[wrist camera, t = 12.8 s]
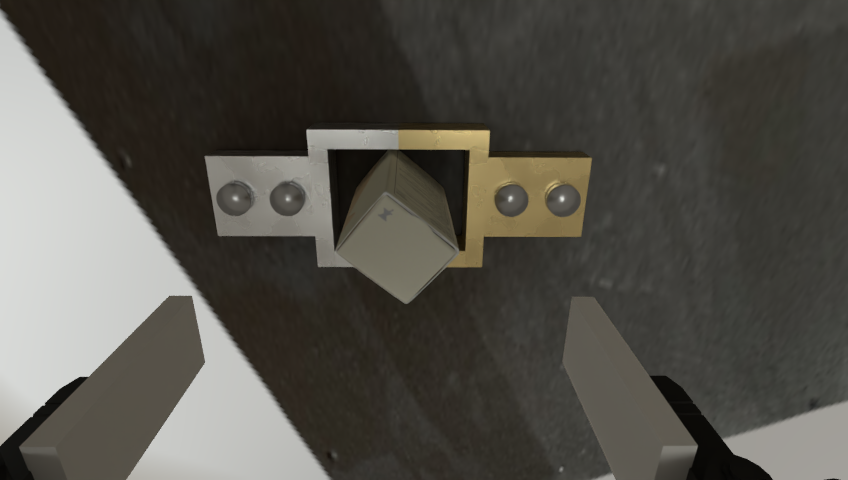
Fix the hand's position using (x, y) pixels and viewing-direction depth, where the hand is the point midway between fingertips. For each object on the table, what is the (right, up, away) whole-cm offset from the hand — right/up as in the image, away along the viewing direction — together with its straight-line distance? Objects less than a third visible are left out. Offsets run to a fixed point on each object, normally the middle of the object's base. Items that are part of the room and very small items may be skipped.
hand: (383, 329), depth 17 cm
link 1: (-7, +7, +17) cm, 20 cm away
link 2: (+6, +7, +18) cm, 20 cm away
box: (0, +7, +18) cm, 19 cm away
